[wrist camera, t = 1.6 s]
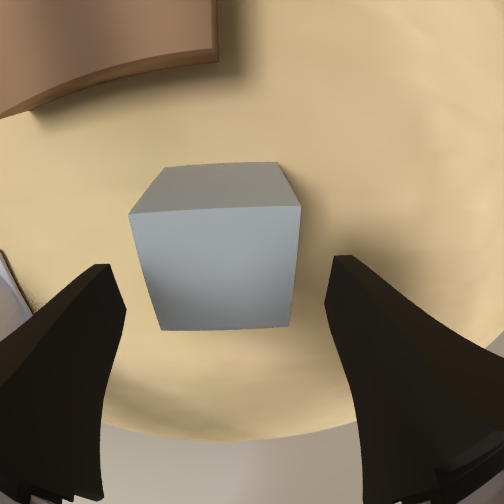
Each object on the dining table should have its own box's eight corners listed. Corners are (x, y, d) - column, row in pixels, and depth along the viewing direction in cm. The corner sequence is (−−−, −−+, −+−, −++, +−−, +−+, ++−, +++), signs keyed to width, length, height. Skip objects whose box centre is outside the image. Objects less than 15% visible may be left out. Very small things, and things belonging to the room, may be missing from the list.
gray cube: (178, 258, 14) (161, 330, 10) (165, 167, 12) (127, 214, 7) (272, 254, 15) (288, 326, 10) (276, 161, 12) (301, 205, 8)
